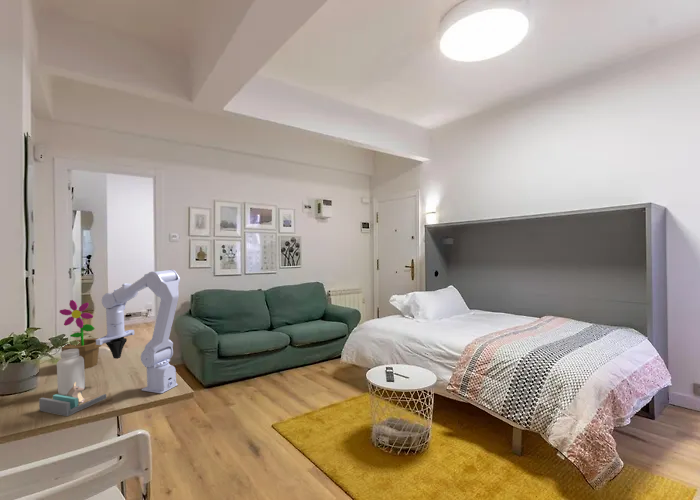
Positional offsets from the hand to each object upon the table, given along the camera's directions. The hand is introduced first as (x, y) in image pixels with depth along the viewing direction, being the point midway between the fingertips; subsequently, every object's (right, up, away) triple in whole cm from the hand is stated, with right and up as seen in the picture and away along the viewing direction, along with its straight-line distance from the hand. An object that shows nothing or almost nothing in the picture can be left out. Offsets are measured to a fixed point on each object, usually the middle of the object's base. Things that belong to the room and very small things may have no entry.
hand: (116, 357), depth 139 cm
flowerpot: (-27, -9, +18) cm, 34 cm away
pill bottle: (-12, -10, -7) cm, 17 cm away
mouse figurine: (-5, -11, -17) cm, 21 cm away
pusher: (-3, -10, -21) cm, 23 cm away
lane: (-3, -10, -18) cm, 21 cm away
